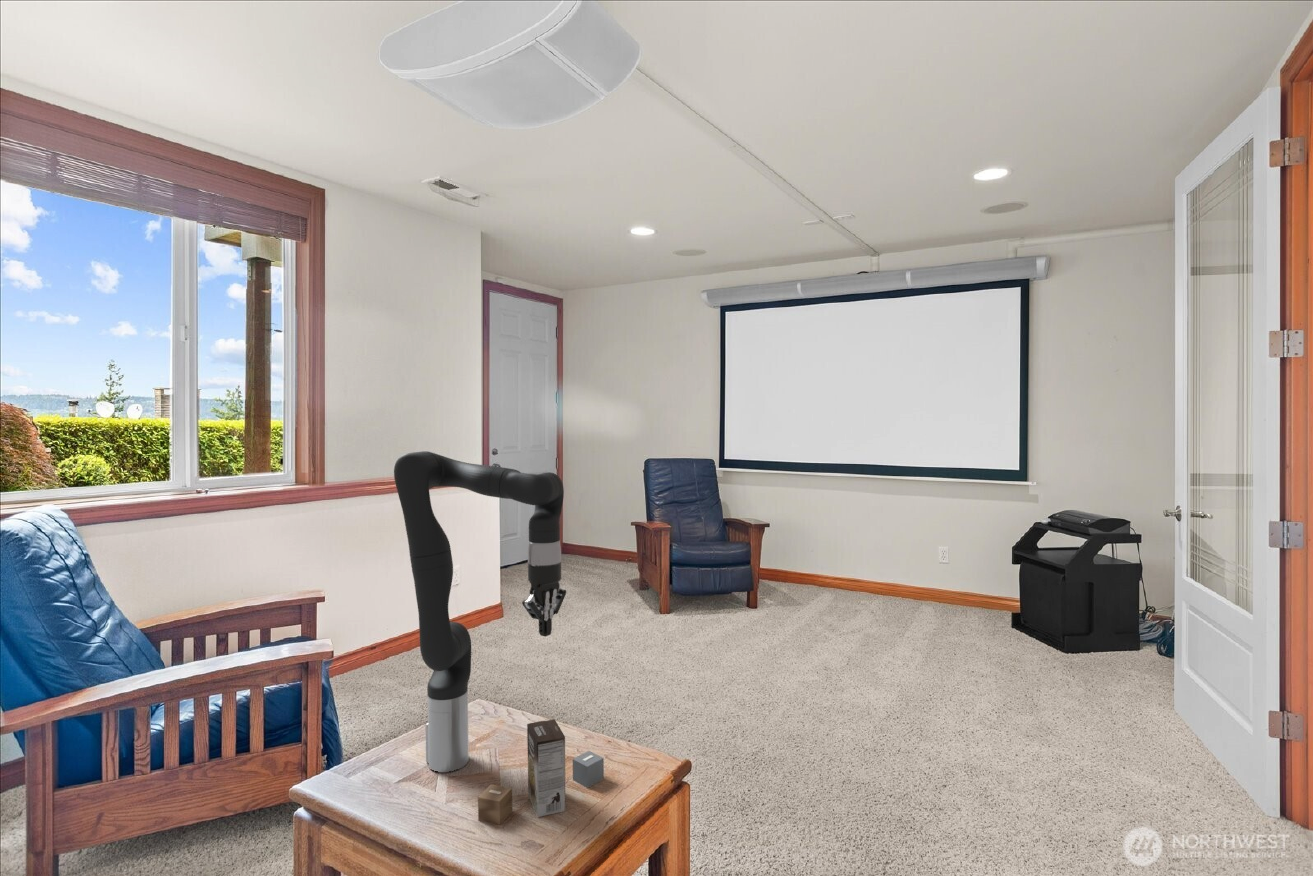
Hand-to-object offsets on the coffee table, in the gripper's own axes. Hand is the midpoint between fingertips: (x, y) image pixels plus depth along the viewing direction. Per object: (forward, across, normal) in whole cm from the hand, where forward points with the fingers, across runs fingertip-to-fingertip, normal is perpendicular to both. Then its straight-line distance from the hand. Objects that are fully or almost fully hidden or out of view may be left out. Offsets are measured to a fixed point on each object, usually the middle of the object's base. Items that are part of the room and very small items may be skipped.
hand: (545, 635), depth 151 cm
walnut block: (+33, +17, +1) cm, 37 cm away
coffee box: (+33, +8, +7) cm, 35 cm away
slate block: (+33, -4, +9) cm, 35 cm away
